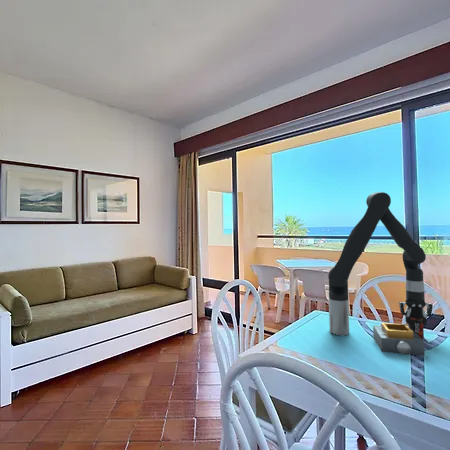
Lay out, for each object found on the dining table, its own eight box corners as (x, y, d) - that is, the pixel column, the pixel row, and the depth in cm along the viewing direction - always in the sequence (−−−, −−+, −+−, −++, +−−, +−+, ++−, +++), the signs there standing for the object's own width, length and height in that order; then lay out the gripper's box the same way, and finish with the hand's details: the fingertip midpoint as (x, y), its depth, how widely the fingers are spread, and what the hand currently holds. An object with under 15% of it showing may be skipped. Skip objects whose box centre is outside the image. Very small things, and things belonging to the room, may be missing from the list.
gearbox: (382, 353, 121) (382, 333, 121) (373, 337, 139) (373, 320, 139) (426, 357, 117) (425, 336, 117) (411, 340, 134) (410, 322, 134)
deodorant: (419, 334, 141) (418, 304, 142) (426, 339, 135) (425, 307, 136) (406, 334, 142) (405, 304, 142) (413, 339, 136) (412, 307, 136)
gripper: (400, 290, 137) (401, 325, 137) (435, 291, 133) (436, 328, 133) (396, 287, 145) (397, 320, 144) (428, 288, 141) (430, 322, 140)
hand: (416, 324), depth 139 cm, fingers closed on deodorant, 6 cm apart
